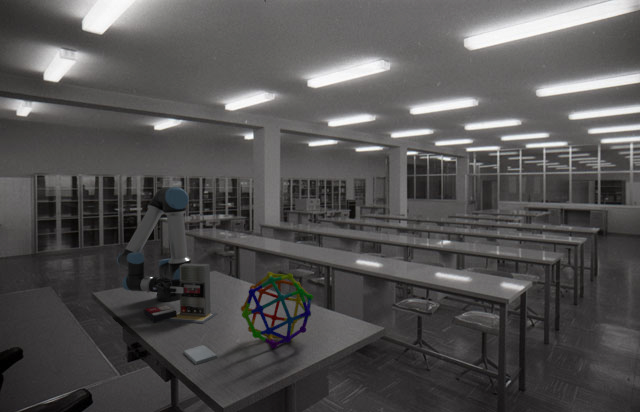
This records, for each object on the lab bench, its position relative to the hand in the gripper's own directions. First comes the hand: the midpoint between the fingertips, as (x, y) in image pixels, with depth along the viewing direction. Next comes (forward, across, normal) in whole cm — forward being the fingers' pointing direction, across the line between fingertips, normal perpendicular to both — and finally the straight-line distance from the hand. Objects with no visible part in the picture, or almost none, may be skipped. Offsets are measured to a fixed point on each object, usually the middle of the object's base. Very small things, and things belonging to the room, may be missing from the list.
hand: (190, 286), depth 182 cm
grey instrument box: (0, -3, -15) cm, 15 cm away
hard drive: (+27, +38, -16) cm, 49 cm away
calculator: (-16, +2, -16) cm, 23 cm away
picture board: (0, 0, -15) cm, 15 cm away
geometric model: (+52, +21, -15) cm, 58 cm away
